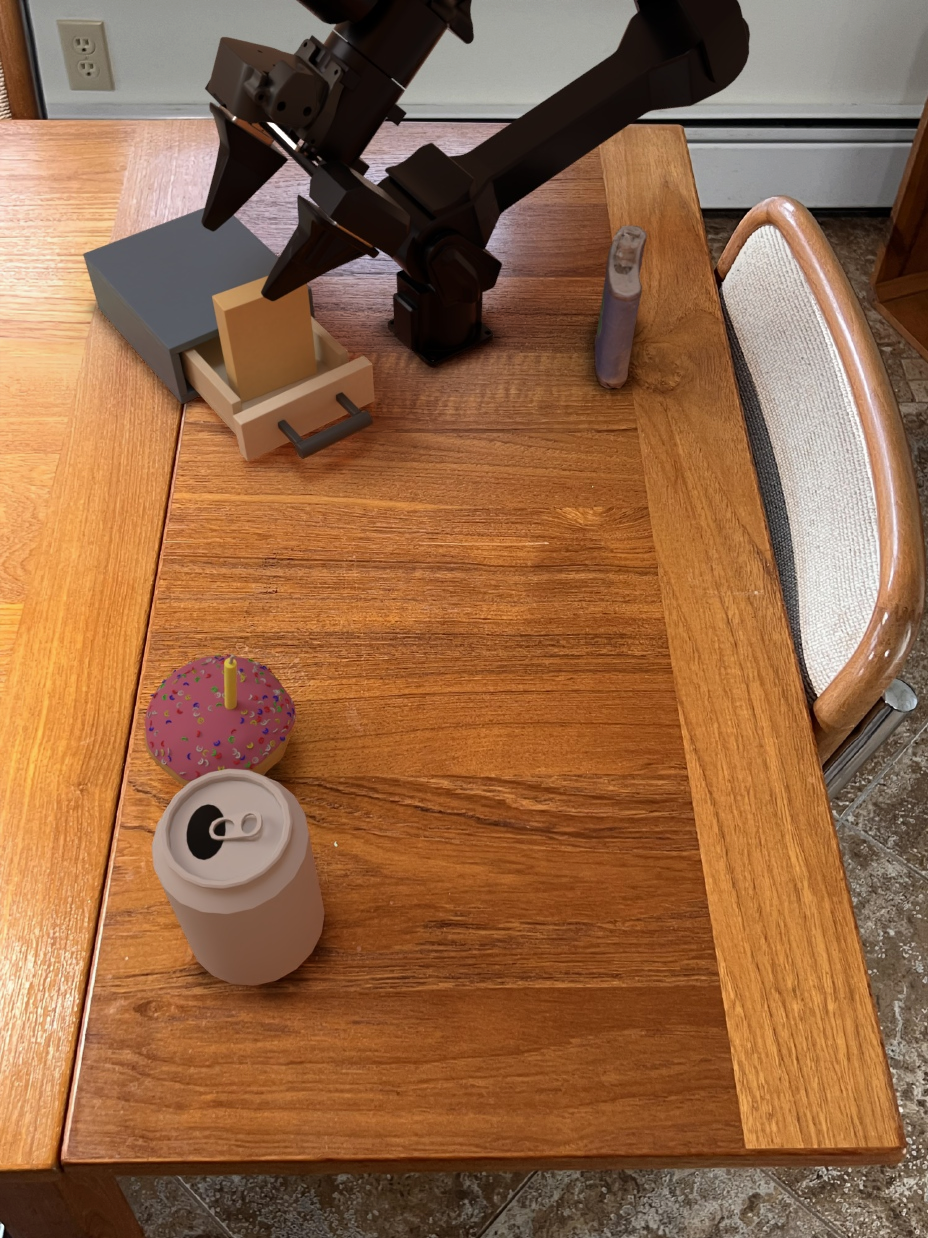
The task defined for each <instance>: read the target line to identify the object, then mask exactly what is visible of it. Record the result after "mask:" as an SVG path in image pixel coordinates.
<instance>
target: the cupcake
mask: <svg viewBox="0 0 928 1238" xmlns="http://www.w3.org/2000/svg"><path fill="white" fill-rule="evenodd" d="M149 696H150V697H151V699H150V702H149V704H148V706H147V709H146V711H145V716H144V745H145V749H146V751H147V753H148V756H149V757H150V758H151V760H152V761H153V762H155V764H156V765H157V766H158V767H159V768H160V769H161V770H162V771H164V772H165V773H166V774H167V775H168V776H170V777H171V778H172V779H174V780H175V781H176V782H178V783H179V784H180V785H182V786H184V787H185V786H186V785H187V784H188V783H189V782H191V781H193V780H195V779H197V778H199V777H201V776H203V775H205V774H207V773H210V772H215V771H220V770H225V769H240V770H250V771H252V772H255V773H258V774H260V775H263V776H265V775H266V774H267V772H268V771H269V770H271V768H273V766H275V765H276V764H277V763H279V762H280V761H281V759H282V758H283V757H284V755H285V752H286V751H287V748H288V745H289V741H290V738H291V737H292V734H293V730H294V726H295V723H296V718H297V717H296V716H297V713H296V705H295V702H294V699H293V698H292V697H291V695H290V694H289V693H288V691H287V690H286V689H285V687H284V686H283V684H282V683H281V681H280V679H279V678H278V677H277V676H276V675H275V674H274V673H273V671H272V668H270V667H269V668H268V667H267V666H266V665H262V664H261V663H260V662H258V661H257V662H256V661H255V660H254V659H253V657H250V658H246V657H240V656H237V655H235V654H228V653H226V655H221V654H216V655H215V656H214V655H213V656H212V655H211V656H204V657H197V658H195V659H194V660H192V661H191V660H190V661H188V662H187V664H184V665H183V666H181V667H180V668H178V669H174V670H173V672H172V673H169V674H168V675H167V676H166V679H165V678H163V680H162V681H161V684H159V685H158V687H157V689H156V691H155V692H154V693H152V694H150V695H149Z"/></svg>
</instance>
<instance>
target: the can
mask: <svg viewBox="0 0 928 1238" xmlns="http://www.w3.org/2000/svg"><path fill="white" fill-rule="evenodd" d="M151 855H152V864H153V870H154V872H155V873H156V876H157V879H158V880H159V882H160V885H161V886H162V887H161V888H162V889H163V891H164V893H165V895H166V897H167V900H168V902H169V904H170V906H171V908H172V910H173V913H174V915H175V918H176V920H177V922H178V924H179V926H180V928H181V930H182V932H183V934H184V937H185V939H186V941H187V943H188V945H189V947H190V949H191V951H192V953H193V955H194V957H195V960H196V962H197V963H198V964H199V965H201V966H202V967H203V968H204V969H205V970H206V971H207V972H208V973H209V974H211V976H212V977H215V978H217V979H219V980H222V981H224V982H227V983H229V984H231V985H241V986H253V987H254V986H260V985H263V984H266V983H272V982H275V981H276V982H277V981H278V980H279V979H281V978H283V977H285V976H287V975H288V974H290V973H292V972H294V971H295V970H297V969H298V968H299V967H300V966H301V965H302V964H303V963H304V961H306V960H307V958H308V957H309V956H310V955H311V954H312V953H313V952H314V949H315V947H316V946H317V944H318V941H319V940H320V937H321V936H322V932H323V926H324V920H325V906H324V902H323V896H322V890H321V886H320V881H319V876H318V871H317V867H316V866H317V865H316V861H315V857H314V851H313V847H312V841H311V836H310V831H309V826H308V821H307V816H306V813H305V811H304V809H303V808H302V806H301V804H300V803H299V801H298V799H297V798H296V796H295V794H293V793H292V792H291V791H289V789H287V788H286V787H284V785H282V784H281V783H280V782H279V781H277V780H274V779H271V778H269V777H267V776H265V775H264V776H263V775H260V774H258V773H255V772H252V771H250V770H240V769H225V770H220V771H215V772H210V773H207V774H205V775H203V776H201V777H199V778H197V779H195V780H193V781H191V782H189V783H188V784H187V785H186V786H184V787H182V788H181V789H180V790H179V791H178V792H177V793H175V795H174V796H173V797H172V798H171V800H170V802H169V803H168V805H167V807H166V808H165V810H164V812H163V814H162V815H161V817H160V819H159V820H158V821H157V823H156V827H155V831H154V835H153V840H152V843H151Z"/></svg>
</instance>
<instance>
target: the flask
mask: <svg viewBox="0 0 928 1238" xmlns="http://www.w3.org/2000/svg"><path fill="white" fill-rule="evenodd" d="M647 238H648V234H647V232H646V230H644V229H643V228H642V227H640V226H638V225H631V224H626V225H623V226H621V227H620V228H619V229H618V230H617V232H615V234H614V236H613V238H612V243H611V245H610V247H609V249H608V254H607V258H606V267H605V276H604V283H603V290H602V296H601V302H600V303H601V304H600V311H599V317H598V323H597V330H596V331H597V332H596V334H595V336H596V337H595V340H594V345H593V350H594V354H593V355H594V362H593V363H594V370H595V373H594V374H595V378H596V379H597V383H599V384H600V386H602V387H604V388H606V389H612V388H615V389H616V388H617V389H621V388H622V386H623V385H624V384H625V383H626V381H627V379H628V376H629V375H628V374H629V366H630V359H631V353H632V348H633V340H634V335H635V329H636V324H637V319H638V313H639V308H640V301H641V298H642V294H643V290H642V289H643V286H642V282H641V277H640V276H641V275H640V274H641V268H642V264H643V257H644V251H645V247H646V243H647Z"/></svg>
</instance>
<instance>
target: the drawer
mask: <svg viewBox="0 0 928 1238" xmlns="http://www.w3.org/2000/svg"><path fill="white" fill-rule="evenodd" d="M311 322H312V331H313V340H314V349H315V358H316V367H317V374H314V375H311V376H309V377H306V378H304V379H301V380H299V381H296V382H294V383H291V384H289V385H286V386H284V387H281V388H279V389H276V390H274V391H271V392H269V393H266V394H263V395H261V396H258V397H256V398H253V399H251V400H248V401H246V402H243V403H241V399H240V398H239V397H238V396H237V395H236V394H235V393H234V392H233V391H232V390H231V389H230V387H229V382H228V377H227V372H226V367H225V361H224V356H223V351H222V346H221V341H220V335H219V336H217V337H214V338H212V339H210V340H207V341H205V342H203V343H200V344H198V345H196V346H193V347H191V348H189V349H186V350H184V351H182V352H179V357H180V362H181V366H182V370H183V375H184V377H185V378H186V379H187V381H188V382H189V383H190V384H191V385H192V386H193V387H194V388H195V390H196V391H197V392H198V393H199V394H200V395H201V396H200V397H201V398H202V399H203V400H204V401H205V402H206V403H207V404H208V406H209V407H210V408H211V409H212V411H214V412H215V413H216V415H217V416H218V417H219V418H220V419H221V420H222V422H224V424H226V426H227V427H228V428H229V429H230V430H231V431H232V432H233V433H234V435H235V436H236V439H237V444H238V449H239V453H240V455H241V456H242V457H243V458H244V459H245V460H246V461H247V462H250V461H253V460H255V459H257V458H259V457H261V456H263V455H265V454H267V453H269V452H271V451H274V450H276V449H278V448H280V447H282V446H283V445H286V444H288V443H290V442H291V443H292V445H293V446H294V450H295V453H296V454H297V456H298V457H299V459H301V460H305V459H306V458H308V457H310V456H312V455H315V454H317V453H319V452H320V451H321V452H322V451H323V450H325V449H327V448H329V447H331V446H333V445H335V444H337V443H339V442H341V441H343V440H345V439H347V438H349V437H351V436H353V435H355V434H357V433H360V432H362V431H364V430H365V429H367V428H370V427H372V426H373V425H374V420H373V417H372V415H371V414H370V412H369V411H368V410H367V409H365V410H362V409H361V408H362V407H365V406H367V405H369V404H371V403H373V402H375V386H374V385H375V384H374V371H373V370H374V367H373V363H372V362H371V361H370V360H369V358H367V357H366V356H365V355H362V356H359V357H357V358H355V359H353V360H350V361H349V351H348V350H347V349H346V348H345V347H344V346H343V344H341V343H340V342H339V341H338V340H337V339H336V338H335V337H334V336H333V335H332V334H331V333H329V331H328V330H326V328H324V327H323V326H322V325H321V324H320V322H318V321H317V320H316V318H315V319H314V318H313V317H312V316H311ZM348 414H349V415H350V417H348V418H346V419H344V420H342V421H339V422H338V423H337V422H336V423H335V424H333V425H331V426H329V427H327V428H325V429H323V430H321V431H318V432H317V433H315V434H313V435H310V436H309V437H306V438H305V439H303V438H302V437H303V436H304V435H307V434H309V433H311V432H313V431H315V430H317V429H319V428H322V427H323V426H326V425H327V424H330V423H332V422H334V421H336V420H338V419H340V418H342V417H345V416H346V415H348Z"/></svg>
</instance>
